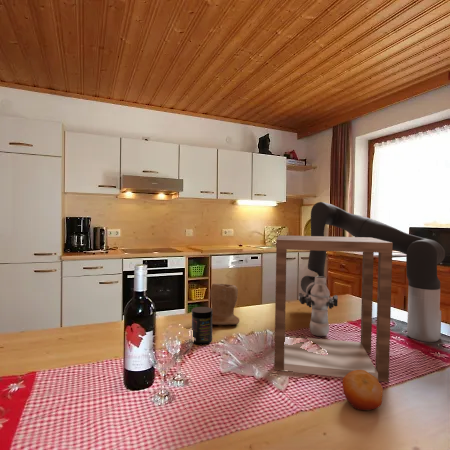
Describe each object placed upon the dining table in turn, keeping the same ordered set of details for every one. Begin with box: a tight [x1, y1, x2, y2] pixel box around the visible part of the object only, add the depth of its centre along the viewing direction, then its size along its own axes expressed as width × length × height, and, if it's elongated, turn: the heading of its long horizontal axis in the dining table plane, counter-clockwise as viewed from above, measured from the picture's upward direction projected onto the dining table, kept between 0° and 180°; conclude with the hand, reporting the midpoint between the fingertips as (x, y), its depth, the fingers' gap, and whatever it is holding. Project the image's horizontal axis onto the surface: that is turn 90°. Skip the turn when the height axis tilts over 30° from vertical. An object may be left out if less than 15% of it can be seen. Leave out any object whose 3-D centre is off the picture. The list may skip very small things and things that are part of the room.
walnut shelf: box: [273, 234, 393, 383], centre depth 92 cm, size 20×28×34 cm
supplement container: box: [191, 306, 213, 346], centre depth 103 cm, size 7×7×10 cm
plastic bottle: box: [309, 275, 331, 337], centre depth 111 cm, size 6×7×20 cm
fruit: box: [342, 370, 384, 411], centre depth 70 cm, size 8×8×8 cm
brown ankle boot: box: [209, 283, 240, 326], centre depth 122 cm, size 15×12×15 cm
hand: (320, 305), depth 108 cm, fingers closed on plastic bottle, 6 cm apart
